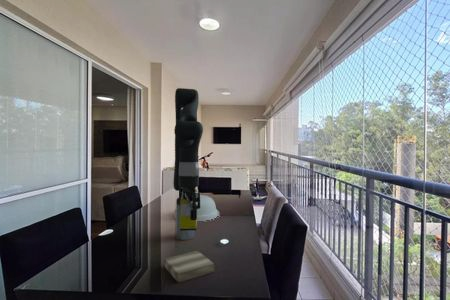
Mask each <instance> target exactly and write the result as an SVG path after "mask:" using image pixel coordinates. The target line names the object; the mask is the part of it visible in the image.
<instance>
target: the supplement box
mask: <svg viewBox="0 0 450 300" xmlns="http://www.w3.org/2000/svg"><path fill="white" fill-rule="evenodd" d="M192 201H193V200H192ZM192 206H193V204H192ZM197 228H198V222H197V219H196V220H191V209H190V205H189V204H188V202H187V200H186V199H181V201H180V231H185V230H194V231H197Z"/></svg>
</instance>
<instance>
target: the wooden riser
mask: <svg viewBox="0 0 450 300" xmlns="http://www.w3.org/2000/svg"><path fill="white" fill-rule="evenodd" d="M164 268H165V269H166V271H168V273H169V274H170V275H171V276H172V277H173V278H174V279H175V281H176V282H177V283H178V282H179V283H181V282H185V281H188V280H192V279H195V278H199V277H201V276H205V275H208V274H211V273H214V272H215V263H214V262H213V261H211V260H210V259H209V258H207V257H206V256H205V255H204V254H202V252H200V251H199V250H195V251H189V252H187V253H183V254H178V255H174V256H170V257H166V258H164Z"/></svg>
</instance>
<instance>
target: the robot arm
mask: <svg viewBox="0 0 450 300" xmlns="http://www.w3.org/2000/svg"><path fill="white" fill-rule="evenodd" d="M174 104H175V105H174V107H175V126H174V169H173V189H174V190H175V191H177V192H178V197H177V198H176V202H175V203H176V205H175V206H176V219H175V220H176V221H175V222H176V225H175V227H176V228H175V229H176V232H175V233H176V234H175V235H176V239H177V240H181V241H187V240H188V241H189V240H192V239H194V238H195V230H185V231H180V201H181V199H186V200H187V202H188V204H189V205H190V209H191V220H196V219H197V209H200V195H201V192H200V191H196V188H198V187H199V186H200V167H199V150H200V149H199V148H200V143H201V140H202V136H203V132H204V126H203V124H202V123H201V122H199V121H198V109H199V91H198V90H197V89H193V88H182V87H179V88H178V87H177V88H176V89H175V94H174ZM192 200H193V201H192ZM197 202H198V205H197ZM192 204H193V206H192Z"/></svg>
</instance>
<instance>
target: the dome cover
mask: <svg viewBox="0 0 450 300" xmlns="http://www.w3.org/2000/svg"><path fill="white" fill-rule="evenodd" d="M197 205H198V202H197ZM217 216H219V217H220V211H219V210H218V209H217V207H216V202H215V200H214V199H213V198H212V197H210V196H208V195H206V194H205V195H204V194H200V209H197V221H204V222H207V221H206V220H210V221H212V220H211V219H213V220H215V219H214V218H216V217H217ZM175 217H176V209H174V218H175ZM217 218H218V217H217ZM217 218H216V219H217Z"/></svg>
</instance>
